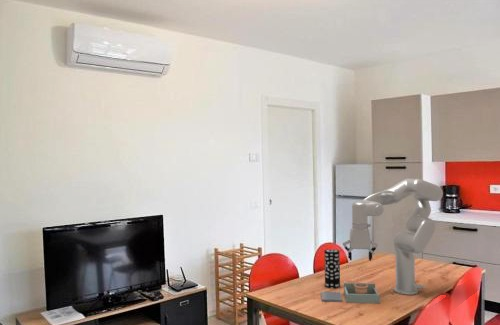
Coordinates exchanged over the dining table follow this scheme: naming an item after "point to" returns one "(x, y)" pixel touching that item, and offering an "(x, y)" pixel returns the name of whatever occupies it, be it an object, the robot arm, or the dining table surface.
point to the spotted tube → (332, 268)
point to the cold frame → (370, 297)
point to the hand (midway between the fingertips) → (360, 260)
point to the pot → (360, 288)
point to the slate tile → (331, 296)
